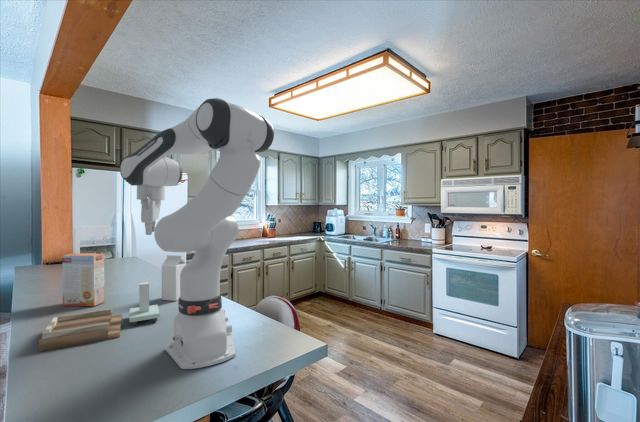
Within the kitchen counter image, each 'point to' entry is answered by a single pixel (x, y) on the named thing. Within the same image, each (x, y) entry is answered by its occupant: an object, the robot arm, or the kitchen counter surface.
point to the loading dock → (80, 329)
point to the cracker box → (83, 279)
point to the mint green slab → (144, 306)
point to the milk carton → (171, 277)
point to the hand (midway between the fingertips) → (150, 233)
